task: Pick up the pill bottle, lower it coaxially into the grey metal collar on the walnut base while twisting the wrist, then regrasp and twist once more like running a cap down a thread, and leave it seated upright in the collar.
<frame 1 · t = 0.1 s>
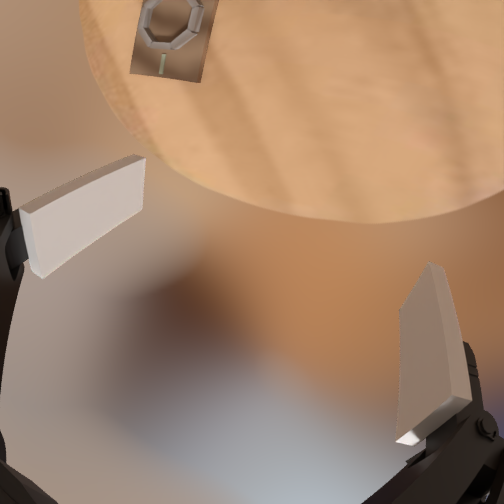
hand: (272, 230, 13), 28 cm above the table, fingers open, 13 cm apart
collar base: (175, 19, 34), on the table
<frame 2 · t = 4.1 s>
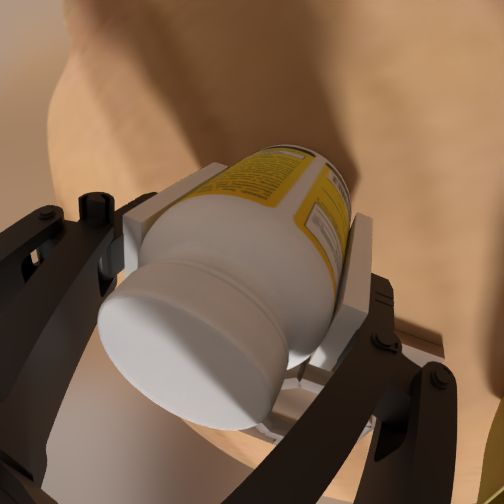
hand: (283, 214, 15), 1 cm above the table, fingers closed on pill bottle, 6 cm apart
pill bottle: (292, 202, 16), on the table, touching gripper
collar base: (310, 395, 22), on the table
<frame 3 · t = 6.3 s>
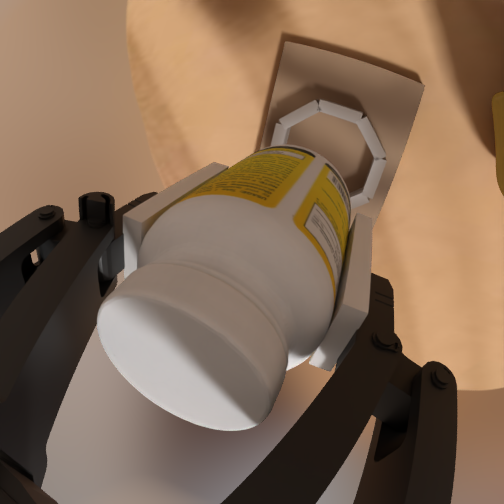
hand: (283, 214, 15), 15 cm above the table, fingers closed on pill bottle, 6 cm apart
pill bottle: (291, 202, 16), point 13 cm above the table, touching gripper
collar base: (329, 154, 27), on the table
when the fingers open (3 cm above the table, at t = 8.4 s): pill bottle stays where it is, resting on collar base.
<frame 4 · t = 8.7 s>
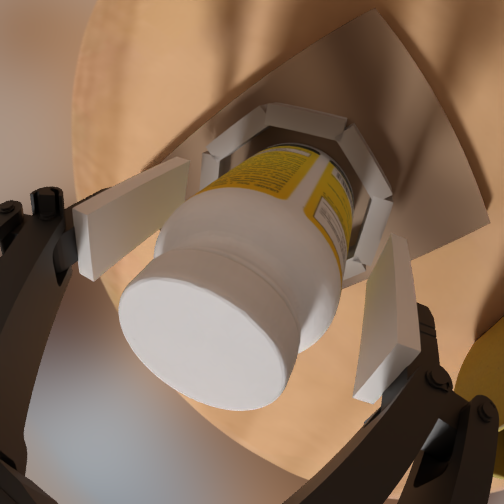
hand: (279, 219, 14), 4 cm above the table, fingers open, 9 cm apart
pill bottle: (296, 198, 16), point 1 cm above the table, touching collar base
collar base: (298, 192, 17), on the table
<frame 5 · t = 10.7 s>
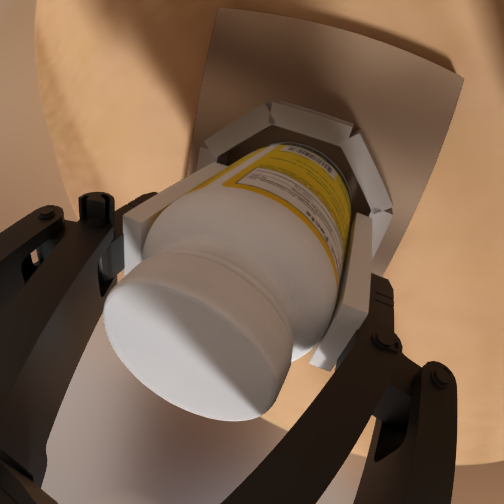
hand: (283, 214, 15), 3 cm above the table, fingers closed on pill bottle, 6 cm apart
pill bottle: (293, 198, 16), point 1 cm above the table, touching collar base, gripper
collar base: (295, 194, 17), on the table
when the fingers open (3 cm above the table, at t = 11.7 s): pill bottle stays where it is, resting on collar base.
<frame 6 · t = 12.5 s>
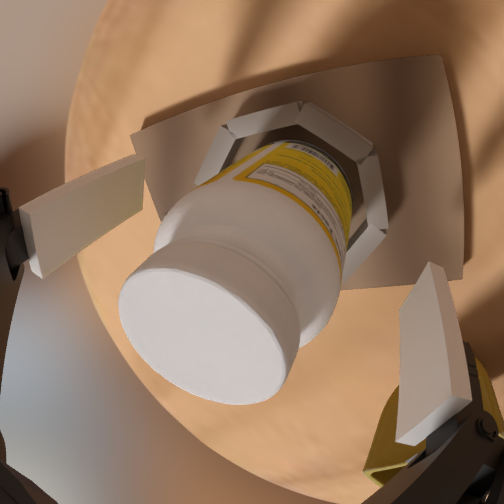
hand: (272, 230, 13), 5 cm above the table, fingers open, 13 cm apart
pill bottle: (296, 194, 16), point 1 cm above the table, touching collar base
flower pot: (444, 376, 20), on the table
collar base: (296, 191, 17), on the table
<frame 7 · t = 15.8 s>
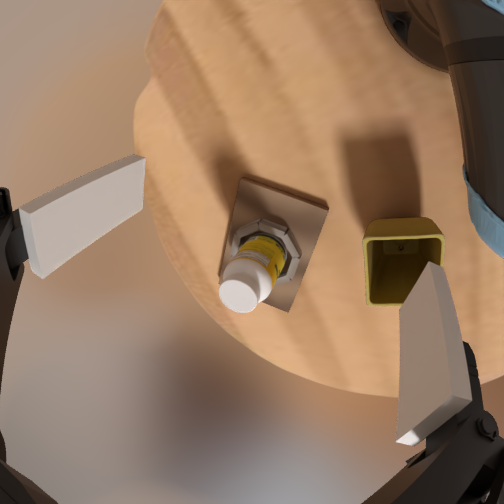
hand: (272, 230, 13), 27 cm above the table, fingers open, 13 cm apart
pill bottle: (267, 250, 45), point 1 cm above the table, touching collar base
flower pot: (399, 235, 38), on the table
collar base: (268, 248, 45), on the table
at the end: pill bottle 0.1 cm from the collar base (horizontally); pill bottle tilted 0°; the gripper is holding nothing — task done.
